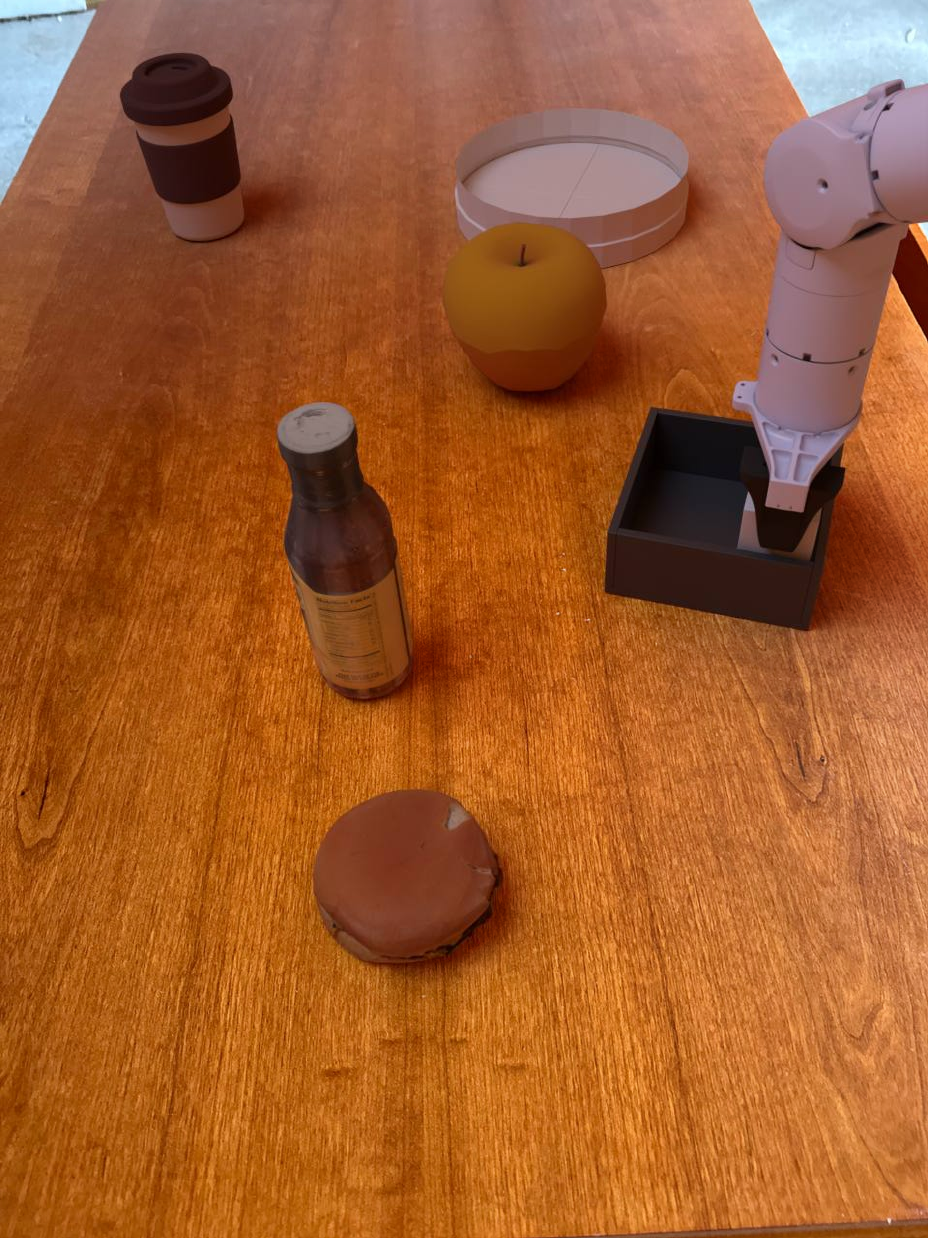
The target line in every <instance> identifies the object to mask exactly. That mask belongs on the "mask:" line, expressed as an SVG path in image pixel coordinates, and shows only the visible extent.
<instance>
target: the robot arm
mask: <svg viewBox="0 0 928 1238" xmlns="http://www.w3.org/2000/svg"><path fill="white" fill-rule="evenodd" d="M766 153H767V154H766V156H765V160H764V165H763V187H764V188H763V189H764V195H765V198H766V199H765V200H766V202H767V205H768V208H769V210H770V213H771V215H772V217H773V219H774V220H775V222H776V224H777V225H778V226H779V228H780V231H779V236H778V237H779V238H778V244H777V250H776V257H775V264H774V270H773V276H772V282H771V288H770V293H769V294H770V295H769V300H768V307H767V313H766V319H765V320H766V321H765V326H764V332H763V339H762V345H761V351H760V352H761V353H760V359H759V365H758V366H759V367H758V370H757V371H758V372H757V377H756V380H755V381H752V380H751V381H750V380H740V381H738V382H737V383H735V386H734V391H733V394H732V398H731V407H732V409H734V410H735V411H738V412H745V413H748V415H750V417H751V420H752V422H753V423H754V426H755V429H756V432H757V435H758V438H759V441H760V444H761V447H762V448H757V447H751V446H745V449H744V453H743V457H742V461H741V466H740V475H741V480H742V483H743V484H744V485H745V487H746V488H747V490H748V492H749V494H750V496H751V498H752V501H753V504H754V509H755V517H756V528H757V536H758V541H759V545H760V547H761V548H767V549H773V550H779V551H784V552H790V553H792V552H794V550H795V549H796V548H797V546H798V545H799V543H800V541H801V540H802V538H803V536H804V534H805V532H806V530H807V528H808V526H809V524H810V522H811V521H812V519H813V517H814V516H815V515H816V513H817V512H818V511H819V510H820V509H821V508H822V507H823V506H824V505H825V504H826V503H828V502H829V501H830V500H832V499H834V498H835V499H836V498H837V496H838V494H839V493H840V491H841V490H842V487H844V481H845V475H846V469H847V468H846V466H845V467H844V466H840V467H839V466H832V465H826V463H827V461H828V460H829V459H830V458H831V457H832V455H833V454H834V453H835V452H836V451H837V450H838V448H839V447H840V446H841V445H842V444H843V443H844V444H845V442H846V441H847V439H848V438H849V437H850V436H851V435H852V433H854V431H855V430H856V429H857V427H858V426H859V423H860V421H861V419H862V414H863V411H864V410H863V409H864V402H863V399H862V398H863V393H864V390H865V387H866V386H865V385H866V381H867V377H868V374H869V368H870V364H871V361H872V357H873V353H874V348H875V345H876V339H877V336H878V332H879V328H880V323H881V319H882V315H883V312H884V307H885V304H886V299H887V294H888V291H889V287H890V283H891V278H892V274H893V271H894V267H895V262H896V259H897V255H898V250H899V246H900V242H901V241H902V240H904V239H906V238H907V235H908V231H909V227H910V225H915V224H924V223H928V82H927V83H923V84H919V85H915V86H911V87H907V88H906V86H905V81H904V80H903V79H901V78H896V79H892V80H888V81H885V82H882V83H880V84H877V85H875V86H873V87H871V88H869V89H868V91H867V93H865V94H862V95H860V96H857V97H855V98H853V99H851V100H848V101H846V102H843V103H841V104H838V105H835V106H834V107H832V108H829V109H827V110H824V111H821V112H819V113H817V114H814V115H812V116H806V117H804V118H802V119H800V120H799V121H798V122H796V123H795V124H793V125H792V126H790V127H788V128H786V129H784V130H783V131H782V132H780V133H779V134H778V135H777V136H776V137H775V138H774V140H773V142H772V143H771V145H770V147H769V148H768V151H767V152H766Z"/></svg>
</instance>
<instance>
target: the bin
mask: <svg viewBox="0 0 928 1238" xmlns="http://www.w3.org/2000/svg"><path fill="white" fill-rule="evenodd" d="M745 446H751V447H757V448H762V447H761V444H760V441H759V438H758V435H757V432H756V429H755V426H754V423H753V420H752V421H751V420H744V419H739V418H738V419H737V418H732V417H724V416H718V415H710V414H704V413H697V412H691V411H684V410H676V409H670V408H664V407H657V406H656V407H655V406H651V407H649V411H648V414H647V417H646V420H645V423H644V425H643V428H642V430H641V434H640V436H639V440H638V443H637V445H636V448H635V451H634V454H633V457H632V460H631V462H630V466H629V469H628V471H627V474H626V477H625V480H624V483H623V486H622V488H621V492H620V493H619V497H618V500H617V503H616V505H615V508H614V512H613V515H612V518H611V520H610V523H609V525H608V529H607V532H606V549H605V550H606V551H605V572H604V573H605V574H604V593H606V594H613V595H617V596H622V597H629V598H633V599H638V600H642V601H643V600H644V601H648V602H654V603H659V604H665V605H669V606H675V607H679V608H685V609H691V610H695V611H700V612H706V613H712V614H715V615H722V616H726V617H727V616H728V617H733V618H738V619H742V620H743V619H744V620H748V621H753V622H757V623H758V622H759V623H764V624H768V625H775V626H779V627H786V628H790V629H796V630H801V631H805V632H808V631H809V629H810V626H811V621H812V617H813V613H814V610H815V605H816V602H817V597H818V594H819V589H820V586H821V585H820V584H821V582H822V577H823V573H824V569H825V568H824V567H825V562H826V556H827V550H828V544H829V537H830V532H831V527H832V526H831V525H832V520H833V513H834V507H835V502H836V501H835V500H836V497H835V498H834V499H832V500H830V501H829V502H828V503H826V504H825V505H824V506H823V507H822V509H821V514H820V520H819V525H818V529H817V533H816V538H815V542H814V546H813V550H812V555H811V559H810V561H805V560H799V559H794V558H788V557H782V556H776V555H771V554H765V553H759V552H754V551H748V550H742V549H737V548H738V542H739V536H740V530H741V523H742V517H743V511H744V507H745V503H746V498H747V494H748V490H747V488H746V487H745V485H744V484H743V483H742V480H741V475H740V466H741V461H742V457H743V453H744V449H745ZM844 446H845V442H844V443H843V444H842V445H841V446H840V447H839V448H838V450H837V451H836V452H835V453H834V454H833V455H832V457H831V458H830V459H829V460H828V461H827V463H826V465H832V466H839V467H841V464H842V459H843V454H844Z"/></svg>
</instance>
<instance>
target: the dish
mask: <svg viewBox="0 0 928 1238" xmlns="http://www.w3.org/2000/svg"><path fill="white" fill-rule="evenodd" d="M689 162H690V155H689V151H688V149H687V148H686V146H685V143H684V142H683V140H681V138H679V137H678V136H677V135H676V134H675V133H674V132H673V131H672V130H671V129H669V128H667V127H665V126H664V125H661V124H660V123H658V122H655V121H653V120H651V119H648V118H646V117H641V116H638V115H636V114H632V113H630V112H629V113H628V112H625V111H617V110H610V109H605V108H585V107H567V108H556V109H543V110H538V111H534V112H529V113H524V114H519V115H515V116H513V117H510V118H507V119H504V120H502V121H501V120H500V121H499V122H496V123H493V124H491V125H490V126H487V127H486V128H484V129H483V130H480V131H479V132H477V133H475V134H473V136H472V137H471V138H469V140H467V142H466V143H464V144H463V145H462V146H461V147H460V149H459V152H458V153H457V156H456V158H455V161H454V167H455V178H456V180H455V181H456V185H455V188H454V198H455V210H456V219H457V220H456V221H457V227H458V229H459V230H460V232H461V233H462V235H463V236H464V238H465V240H466V241H467V242H468V241H470V240H471V239H473V238H474V237H475V236H477V235H478V234H480V233H482V232H484V231H486V230H488V229H490V228H492V227H494V226H498V225H504V224H510V223H516V222H522V223H530V224H539V225H547V226H553V227H556V228H559V229H563V230H566V231H569V232H570V233H572V234H573V235H574V236H576V237H577V238H579V239H580V240H581V241H583V242H584V243H585V244H586V245H587V246H588V247H589V248H590V249H591V251H592V252H593V254H594V256H595V257H596V259H597V261H598V262H599V264H600V267H601V269H605V268H610V267H614V266H618V265H622V264H627V263H631V262H633V261H635V260H638V259H641V258H643V257H645V256H647V255H650V254H652V253H654V252H657V251H658V250H659V249H660V248H662V247H663V246H664V245H666V244H668V243H669V242H670V241H671V240H673V239H674V238H675V237H676V235H677V234H678V233H679V231H680V230H681V228H682V227H683V225H684V224H685V221H686V215H687V214H686V213H687V204H688V197H689V191H690V184H689V182H688V179H687V178H688V172H689V164H690V163H689Z"/></svg>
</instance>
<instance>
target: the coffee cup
mask: <svg viewBox="0 0 928 1238" xmlns="http://www.w3.org/2000/svg"><path fill="white" fill-rule="evenodd" d="M232 85H233V84H232V80H231V77H230V75H229V74H228V72H226V71H225V70H223V69H222V68H220V67H218V66H215V65H212V64H211V63H210V62H209V60H208V59H207V58H206V57H204V56H202V55H200V54H198V53H197V54H196V53H191V52H171V53H165V54H161V55H160V54H159V55H157V56H154V57H150V58H148V59H145V60H144V61H142V62H140V63H139V64H138V65H137V66H136V67H135V68H134V69H133V71H132V74H131V79H129V80H128V81H127V82H125V83H124V85H123V86H122V87H121V88H120V91H119V100H120V103H121V107H122V111H123V113H124V114H125V116H126V117H127V118H128V119H129V120H131V121H133V122H134V126H135V128H136V130H135V134H136V135H135V136H136V139H137V141H138V145H139V148H140V150H141V154H142V156H143V160H144V162H145V164H146V169H147V170H148V173H149V176H150V179H151V182H152V185H153V187H154V191H155V193H156V195H157V196H159V199H160V202H161V204H162V207H163V210H164V213H165V215H166V217H167V222H168V224H169V227H170V229H171V231H172V232H173V234H174V235H175V236H177V237H179V238H181V239H183V240H187V241H192V242H208V241H214V240H218V239H221V238H224V237H226V236H228V235H231V234H233V233H234V232H235V231H237V230H238V229H239V228H240V227H241V226H242V224H243V222H244V219H245V210H244V204H243V203H244V201H243V198H242V197H243V195H242V189H241V179H242V175H241V174H242V172H241V167H240V166H241V165H240V159H239V153H238V152H239V151H238V145H237V139H236V138H237V137H236V130H235V123H234V119H233V115H232V114H231V113H230V107H229V105H230V103H231V102H232V100H233V98H234V91H233V87H232Z"/></svg>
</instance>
